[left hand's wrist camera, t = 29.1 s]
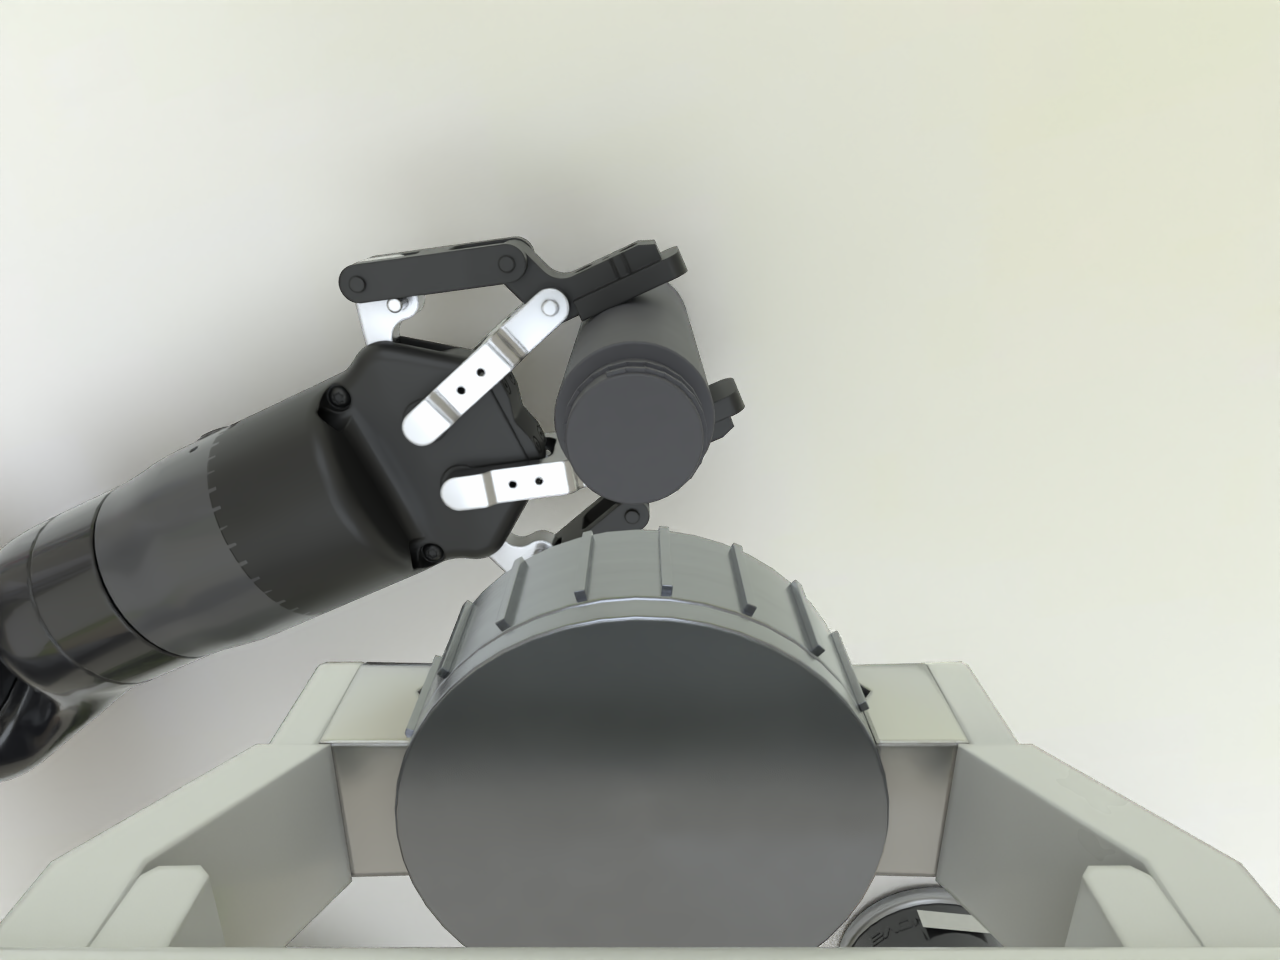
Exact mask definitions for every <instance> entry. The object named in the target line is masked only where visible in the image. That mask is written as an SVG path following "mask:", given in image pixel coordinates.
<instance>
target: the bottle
mask: <svg viewBox="0 0 1280 960" xmlns="http://www.w3.org/2000/svg"><path fill="white" fill-rule="evenodd" d="M554 421H555V430H556V434H557V439H558V441H559V444H560V447H561V449H562V451H563V453H564V455H565V456H566V458H567V459H568V461H569V462H570V464H571V466H572V468H573V470H574V472H575V473H576V474H577V476H578V477H579V479H580V480H581V481H582V482H583V483H584V484H585V485H586V486H587V487H588V488H590V489H591V490H592V491H593V492H595V493H597V494H598V495H600V496H602V497H604V498H606V499H608V500H611V501H615V502H618V503H624V504H645V503H651V502H654V501H658V500H661V499H663V498H665V497H667V496H669V495H671V494H672V493H674V492H676V491H677V490H679V489H680V488H681V487H682V486H683V485H684V484H685V483H686V482H687V481H688V480H689V479H691V478H692V476H693V475H694V473H695V472H696V470H697V469H698V467H699V465H700V464H701V462H702V459H703V457H704V455H705V453H706V452H707V450H708V447H709V445H710V442H711V440H712V436H713V432H714V424H715V410H714V404H713V399H712V396H711V393H710V389H709V386H708V382H707V379H706V376H705V372H704V369H703V366H702V362H701V359H700V355H699V352H698V349H697V345H696V342H695V339H694V335H693V332H692V328H691V325H690V322H689V318H688V315H687V312H686V308H685V305H684V303H683V301H682V299H681V297H680V296H679V294H678V293H677V291H676V290H675V289H674V288H673V287H672V286H671V285H670V284H669V283H665V284H663V285H660V286H658V287H656V288H654V289H652V290H650V291H647V292H645V293H643V294H641V295H639V296H637V297H635V298H632V299H630V300H628V301H626V302H624V303H622V304H619V305H617V306H615V307H613V308H610V309H608V310H606V311H604V312H602V313H600V314H598V315H596V316H593V317H591V318H589V319H587V320H585V321H583V322H582V323H581V326H580V329H579V332H578V335H577V338H576V341H575V344H574V347H573V350H572V353H571V357H570V360H569V363H568V366H567V369H566V372H565V375H564V378H563V381H562V384H561V387H560V390H559V393H558V396H557V400H556V405H555V416H554Z"/></svg>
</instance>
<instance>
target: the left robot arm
mask: <svg viewBox="0 0 1280 960" xmlns="http://www.w3.org/2000/svg"><path fill="white" fill-rule="evenodd" d="M431 665H432V663H386V662H367V663H364V662H326V663H323V664H321V665H319V666H318V667H317V669H316V670H315V672H314V673H313V675H312V676H311V678H310V680H309V681H308V683H307V684H306V686H305V688H304V689H303V691H302V692H301V694H300V696H299V697H298V699H297V700H296V702H295V704H294V705H293V707H292V708H291V710H290V712H289V713H288V715H287V716H286V718H285V720H284V721H283V723H282V724H281V726H280V727H279V729H278V731H277V732H276V734H275V735H274V737H273V739H272V740H271V742H270V743H269V744H256V745H254V746H252V747H251V748H249V749H247V750H245V751H244V752H242V753H240V754H238V755H237V756H235V757H233V758H231V759H230V760H228V761H226V762H224V763H223V764H221V765H219V766H217V767H216V768H214V769H212V770H210V771H209V772H207V773H205V774H203V775H202V776H200V777H198V778H196V779H195V780H193V781H191V782H190V783H188V784H186V785H184V786H183V787H181V788H179V789H177V790H176V791H174V792H172V793H170V794H169V795H167V796H165V797H163V798H162V799H160V800H158V801H156V802H155V803H153V804H151V805H149V806H148V807H146V808H144V809H142V810H141V811H139V812H137V813H135V814H134V815H132V816H130V817H128V818H127V819H125V820H123V821H121V822H120V823H118V824H116V825H114V826H113V827H111V828H109V829H108V830H106V831H104V832H102V833H101V834H99V835H97V836H95V837H94V838H92V839H90V840H88V841H87V842H85V843H83V844H81V845H80V846H78V847H76V848H74V849H73V850H71V851H69V852H67V853H66V854H64V855H62V856H60V857H59V858H57V859H55V860H53V861H52V862H50V864H49V865H48V866H47V867H46V869H45V870H44V871H43V872H42V873H41V875H40V876H39V877H38V878H37V879H36V881H35V882H34V883H33V884H32V885H31V887H30V888H29V889H28V890H27V891H26V893H25V894H24V895H23V896H22V897H21V899H20V900H19V901H18V902H17V903H16V905H15V906H14V907H13V908H12V910H11V911H10V912H9V913H8V914H7V916H6V917H5V918H4V919H3V920H2V922H1V923H0V960H1280V909H1279V908H1278V907H1277V905H1276V904H1275V903H1274V902H1273V901H1272V900H1271V898H1270V897H1269V896H1268V895H1267V894H1266V892H1265V891H1264V890H1263V889H1262V888H1261V886H1260V885H1259V884H1258V883H1257V882H1256V880H1255V879H1254V878H1253V877H1252V876H1251V874H1250V873H1249V872H1248V871H1247V870H1246V868H1245V867H1244V866H1243V865H1242V864H1241V863H1240V862H1238V861H1236V860H1235V859H1233V858H1231V857H1229V856H1228V855H1226V854H1224V853H1222V852H1221V851H1219V850H1217V849H1215V848H1213V847H1212V846H1210V845H1208V844H1206V843H1205V842H1203V841H1201V840H1199V839H1198V838H1196V837H1194V836H1192V835H1191V834H1189V833H1187V832H1185V831H1184V830H1182V829H1180V828H1178V827H1177V826H1175V825H1173V824H1171V823H1170V822H1168V821H1166V820H1164V819H1163V818H1161V817H1159V816H1157V815H1156V814H1154V813H1152V812H1150V811H1149V810H1147V809H1145V808H1143V807H1142V806H1140V805H1138V804H1136V803H1135V802H1133V801H1131V800H1129V799H1128V798H1126V797H1124V796H1122V795H1120V794H1119V793H1117V792H1115V791H1113V790H1112V789H1110V788H1108V787H1106V786H1105V785H1103V784H1101V783H1099V782H1098V781H1096V780H1094V779H1092V778H1091V777H1089V776H1087V775H1085V774H1084V773H1082V772H1080V771H1078V770H1077V769H1075V768H1073V767H1071V766H1070V765H1068V764H1066V763H1064V762H1063V761H1061V760H1059V759H1057V758H1056V757H1054V756H1052V755H1050V754H1049V753H1047V752H1045V751H1043V750H1042V749H1040V748H1038V747H1036V746H1034V745H1033V744H1019V743H1018V741H1017V740H1016V738H1015V737H1014V735H1013V734H1012V732H1011V730H1010V729H1009V727H1008V726H1007V724H1006V723H1005V721H1004V720H1003V718H1002V717H1001V715H1000V714H999V712H998V710H997V709H996V707H995V706H994V704H993V703H992V701H991V700H990V698H989V697H988V695H987V694H986V692H985V690H984V689H983V687H982V686H981V684H980V683H979V681H978V680H977V678H976V677H975V675H974V674H973V672H972V670H971V669H970V667H969V666H968V665H967V664H965V663H963V662H962V661H956V662H928V663H909V664H863V665H852V666H853V669H854V671H855V674H856V676H857V679H858V681H859V684H860V686H861V689H862V691H863V694H864V696H865V698H866V701H867V703H868V706H869V709H868V710H865V711H863V713H864V716H865V718H866V721H867V723H868V726H869V729H870V731H871V734H872V736H873V739H874V741H875V744H876V746H877V749H878V752H879V755H880V758H881V761H882V764H883V768H884V771H885V774H886V781H887V787H888V794H889V826H888V831H887V837H886V842H885V847H884V852H883V855H882V858H881V860H880V863H879V866H878V869H877V872H876V874H875V875H887V876H923V877H936V881H937V882H938V883H939V884H940V885H941V886H942V887H943V888H944V889H945V890H946V891H947V892H948V893H949V894H950V895H951V896H952V897H953V898H954V899H955V900H956V901H957V902H958V903H959V904H960V905H961V906H963V907H964V908H965V909H966V910H967V911H968V912H969V913H970V914H971V915H972V916H973V917H974V918H975V919H976V920H977V921H978V922H979V923H980V924H981V925H982V926H983V927H984V928H985V929H986V930H987V931H988V932H989V933H990V934H991V935H992V936H993V937H994V938H995V939H997V940H998V941H999V942H1000V943H1001V944H1002V945H1003V946H1004V947H285V946H286V945H287V944H288V943H289V942H290V941H291V940H292V939H293V938H294V937H295V936H296V935H297V934H298V933H299V932H301V931H302V930H303V929H304V928H305V927H306V926H307V925H308V924H309V923H310V922H311V921H312V920H313V919H314V918H315V917H316V916H317V915H318V914H319V913H320V912H321V911H322V910H323V909H324V908H325V907H326V906H327V905H328V904H329V903H330V902H331V901H332V900H333V899H334V898H335V897H336V896H337V895H338V894H339V893H340V892H341V891H342V890H344V889H345V888H346V887H347V886H348V885H349V884H350V883H351V882H352V877H365V876H399V875H409V874H408V871H407V869H406V867H405V864H404V862H403V859H402V855H401V851H400V847H399V843H398V839H397V834H396V822H395V810H394V807H395V796H396V785H397V779H398V776H399V772H400V768H401V764H402V760H403V757H404V754H405V752H406V749H407V746H408V744H409V741H410V739H411V737H412V734H405V730H406V727H407V725H408V722H409V720H410V717H411V715H412V712H413V710H414V707H415V705H416V702H417V700H418V697H419V695H420V692H421V690H422V687H423V685H424V682H425V680H426V677H427V675H428V672H429V670H430V668H431Z"/></svg>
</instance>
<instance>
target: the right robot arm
mask: <svg viewBox="0 0 1280 960" xmlns="http://www.w3.org/2000/svg"><path fill="white" fill-rule="evenodd" d="M686 272H687V268H686V266H685V263H684V261H683V259H682V256H681V254H680V252H679V249H678V247H677V246H676V247H672V248H670V249H667V250H665V251H663V252H661V253H660V251H659V249H658V247H657V245H656V242H655V240H640V241H636V242H634V243H632V244H630V245H628V246H626V247H624V248H622V249H619V250H617V251H615V252H613V253H611V254H609V255H607V256H605V257H602V258H600V259H598V260H596V261H594V262H592V263H590V264H588V265H586V266H583V267H581V268H579V269H577V270H575V271H572V272H568V273H563V272H558V271H555V270H553V269H552V268H550V267H549V266H548V265H547V264H546V263H545V262H544V261H543V260H542V259H541V258H540V257H539V256H538V255H537V254H536V253H535V252H534V249H533V247H532V245H531V244H530V243H529V241H527V240H526V239H524V238H522V237H508V238H500V239H493V240H486V241H479V242H471V243H464V244H457V245H450V246H443V247H435V248H428V249H421V250H414V251H406V252H399V253H392V254H385V255H377V256H372V257H370V258H367V259H364V260H362V261H359V262H357V263H354V264H353V265H350V266H348V267H346V268H345V269H344V270H343V271H342V272H341V274H340V276H339V287H340V290H341V292H342V294H343V295H344V296H345V297H346V298H347V299H348V300H350V301H352V302H354V303H356V307H357V311H358V315H359V319H360V323H361V327H362V331H363V335H364V339H365V343H366V347H364V348H363V349H362V350H361V351H360V352H359V353H358V354H357V356H356V357H355V359H354V361H353V362H352V364H351V365H350V367H349V368H348V369H347V370H346V371H344V372H342V373H340V374H338V375H336V376H334V377H332V378H330V379H328V380H325V381H323V382H321V383H319V384H317V385H315V386H313V387H311V388H309V389H307V390H304V391H302V392H300V393H298V394H296V395H294V396H292V397H290V398H288V399H285V400H283V401H281V402H279V403H277V404H275V405H273V406H271V407H269V408H266V409H264V410H262V411H260V412H258V413H256V414H254V415H252V416H249V417H247V418H245V419H243V420H241V421H239V422H237V423H235V424H233V425H231V426H229V427H222V428H219V429H216V430H213V431H211V432H208V433H206V434H204V435H203V436H201V438H200V439H198V441H197V442H195V443H193V444H191V445H188V446H186V447H184V448H182V449H180V450H178V451H176V452H174V453H172V454H170V455H168V456H166V457H165V458H163V459H161V460H160V461H158V462H157V463H155V464H153V465H152V466H151V467H149V468H148V469H146V470H145V471H143V472H142V473H141V474H139V475H138V476H136V477H135V478H133V479H131V480H130V481H128V482H126V483H124V484H122V485H121V486H118V487H116V488H114V489H112V490H110V491H108V492H106V493H103V494H101V495H99V496H97V497H95V498H93V499H91V500H89V501H87V502H84V503H82V504H80V505H78V506H76V507H74V508H72V509H70V510H67V511H65V512H63V513H62V514H59V515H57V516H55V517H53V518H51V519H49V520H47V521H45V522H43V523H41V524H39V525H37V526H35V527H33V528H31V529H29V530H27V531H25V532H24V533H22V534H21V535H19V536H18V537H16V538H14V539H13V540H11V541H10V542H9V543H7V544H6V545H5V546H4V547H3V548H2V549H0V783H1V782H4V781H8V780H11V779H13V778H16V777H18V776H21V775H23V774H25V773H27V772H28V771H30V770H32V769H34V768H35V767H36V766H38V765H39V764H41V763H42V762H43V761H44V760H46V759H47V758H48V757H49V756H50V755H52V754H53V753H54V752H55V751H56V750H57V749H59V748H60V747H61V746H62V745H63V744H65V743H66V742H67V741H68V740H69V739H70V738H72V737H73V736H74V735H75V734H76V733H78V732H79V731H80V730H81V729H82V728H84V727H85V726H86V725H87V724H89V723H90V722H91V721H93V720H94V719H95V718H96V717H98V716H99V715H100V714H101V713H102V712H103V711H105V710H106V709H107V708H108V707H109V706H110V705H111V704H112V703H114V702H115V701H116V700H117V699H118V698H120V697H121V696H122V695H123V694H124V693H126V692H127V691H128V690H129V689H131V688H132V687H134V686H136V685H139V684H142V683H144V682H147V681H150V680H152V679H154V678H157V677H159V676H161V675H164V674H166V673H168V672H171V671H173V670H175V669H178V668H180V667H182V666H185V665H187V664H189V663H192V662H194V661H196V660H199V659H201V658H203V657H206V656H208V655H210V654H213V653H216V652H218V651H221V650H224V649H228V648H232V647H236V646H240V645H244V644H247V643H251V642H254V641H258V640H261V639H264V638H266V637H269V636H272V635H274V634H277V633H279V632H281V631H284V630H286V629H288V628H291V627H293V626H296V625H298V624H300V623H303V622H305V621H307V620H310V619H312V618H314V617H317V616H319V615H321V614H324V613H326V612H328V611H331V610H333V609H335V608H338V607H340V606H342V605H345V604H347V603H349V602H352V601H354V600H357V599H359V598H361V597H364V596H366V595H368V594H371V593H373V592H375V591H378V590H380V589H382V588H385V587H387V586H389V585H392V584H394V583H396V582H399V581H401V580H403V579H406V578H408V577H410V576H413V575H415V574H418V573H420V572H422V571H424V570H426V569H428V568H431V567H433V566H435V565H437V564H439V563H441V562H443V561H445V560H449V559H454V558H469V559H481V558H486V557H490V558H491V559H492V560H493V561H494V562H495V563H496V564H497V565H498V566H499V567H500V568H501V569H502V570H503V571H504V572H507V571H509V570H510V569H512V566H513V563H514V560H516V559H518V558H519V557H521V556H522V557H523V559H524V560H526V559H527V558H529V557H532V556H534V555H536V554H538V553H540V552H542V551H544V550H546V549H548V548H550V547H553V546H556V545H559V544H562V543H565V542H568V541H571V540H574V539H577V538H580V537H582V534H583V532H587V531H592V533H593V535H595V534H600V533H605V532H612V531H624V530H641V529H643V528H644V527H645V526H646V525H647V523H648V521H649V503H645V504H624V503H618V502H615V501H611V500H608V499H606V498H604V497H602V496H601V497H600V498H599V499H597V500H596V501H595V502H594V503H593V504H591V505H590V506H589V507H588V508H587V509H585V510H584V511H583V512H582V513H581V514H579V515H578V516H577V517H576V518H574V519H573V520H572V521H571V522H570V523H568V524H567V525H566V526H565V527H564V528H562V529H561V530H560V531H559V532H558V533H556V534H555V535H554V534H553V533H551V532H549V531H546V530H539V531H536V532H534V533H532V534H531V535H528V536H517V535H514V534H513V533H511V530H512V529H513V527H514V525H515V523H516V522H517V520H518V518H519V516H520V515H521V513H522V511H523V509H524V507H525V506H526V504H527V502H528V500H529V499H536V498H544V497H552V496H560V495H567V494H571V493H574V492H576V491H578V490H579V489H581V488H583V487H587V486H586V485H585V484H584V483H583V482H582V481H581V480H580V479H579V477H578V476H577V474H576V473H575V472H574V470H573V468H572V466H571V464H570V462H569V461H568V459H567V458H566V456H565V455H564V453H563V451H562V449H561V447H560V444H559V441H558V439H557V434H556V432H551V433H543V431H542V429H541V427H540V425H539V423H538V422H537V420H536V419H535V418H534V417H533V416H532V415H531V414H530V413H529V412H528V411H527V409H526V408H525V407H524V406H523V404H522V401H521V397H520V393H519V388H518V384H517V381H516V379H515V377H514V376H513V374H512V372H511V370H513V369H514V368H515V367H516V366H517V365H518V364H519V363H520V362H521V361H522V359H523V358H524V357H525V356H526V355H527V354H528V353H529V352H530V351H532V350H533V349H534V348H535V347H536V346H537V345H538V344H539V343H540V342H541V341H543V340H544V339H545V338H546V337H547V336H548V335H549V334H550V333H551V332H553V331H554V330H555V329H556V328H557V327H558V326H559V325H560V324H561V323H563V322H565V321H567V320H569V319H572V318H574V317H576V316H578V315H579V316H580V318H581V320H582V322H583V321H585V320H587V319H589V318H591V317H593V316H596V315H598V314H600V313H602V312H604V311H606V310H608V309H610V308H613V307H615V306H617V305H619V304H622V303H624V302H626V301H628V300H630V299H632V298H635V297H637V296H639V295H641V294H643V293H645V292H647V291H650V290H652V289H654V288H656V287H658V286H660V285H663V284H665V283H667V282H669V281H671V280H673V279H676V278H678V277H679V276H681V275H683V274H684V273H686ZM501 284H504V285H505V286H506V287H507V288H509V289H510V290H511V291H512V292H513V293H514V294H515V295H516V296H517V297H518V298H519V299H520V300H521V301H522V302H523V303H522V304H521V305H520V306H519V307H518V308H517V309H515V310H514V311H513V312H512V313H511V314H510V315H509V316H507V317H506V318H505V319H504V320H503V321H502V322H501V323H500V324H498V325H497V326H496V327H495V328H494V329H493V330H492V331H491V332H490V333H489V334H488V335H487V336H486V337H484V338H483V339H482V340H481V341H480V342H479V343H478V344H477V345H476V346H475V347H474V348H473V349H466V348H461V347H456V346H450V345H445V344H440V343H435V342H430V341H425V340H420V339H414V338H409V337H404V336H400V335H399V328H400V324H401V322H402V321H403V320H406V319H409V318H411V317H412V316H414V315H415V314H416V313H418V312H419V311H420V310H421V309H422V308H423V306H424V303H425V295H427V294H435V293H442V292H449V291H457V290H464V289H471V288H479V287H486V286H494V285H501ZM709 389H710V393H711V396H712V399H713V404H714V410H715V424H714V432H713V436H712V440H711V442H713V441H715V440H717V439H720V438H722V437H724V436H725V435H726V434H727V433H728V432H729V431H730V430H731V429H732V428H733V427H734V425H733V422H732V419H731V416H733V415H735V414H737V413H739V412H740V411H742V410H743V409H744V407H745V405H744V403H743V401H742V398H741V396H740V393H739V391H738V389H737V386H736V384H735V382H734V379H733V378H726V379H723V380H720V381H718V382H715V383H713V384H711V385H709ZM547 450H550V451H547ZM540 478H541V479H540ZM840 947H1004V946H1003V945H1002V944H1001V943H1000V942H999V941H998V940H997V939H995V938H994V937H993V936H992V935H991V934H990V933H989V932H988V931H987V930H986V929H985V928H984V927H983V926H982V925H981V924H980V923H979V922H978V921H977V920H976V919H975V918H974V917H973V916H972V915H971V914H970V913H969V912H968V911H967V910H966V909H965V908H964V907H963V906H961V905H960V904H959V903H958V902H957V901H956V900H955V899H954V898H953V897H952V896H951V895H950V894H949V893H948V892H947V891H946V890H945V889H944V888H940V887H929V888H918V889H912V890H907V891H903V892H900V893H896V894H893V895H891V896H888V897H886V898H884V899H882V900H880V901H878V902H876V903H874V904H873V905H871V906H870V907H868V908H867V909H866V910H864V911H863V912H862V913H861V914H860V915H858V916H857V917H856V918H855V919H854V921H853V922H852V923H851V924H850V926H849V927H848V928H847V930H846V932H845V934H844V935H843V938H842V940H841V943H840Z"/></svg>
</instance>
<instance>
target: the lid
mask: <svg viewBox="0 0 1280 960" xmlns="http://www.w3.org/2000/svg"><path fill="white" fill-rule="evenodd" d="M868 709H869V706H868V703H867V701H866V698H865V696H864V694H863V691H862V689H861V686H860V684H859V681H858V679H857V676H856V674H855V671H854V669H853V666H852V664H851V662H850V659H849V657H848V654H847V652H846V649H845V647H844V644H843V642H842V639H841V637H840V635H839V633H838V631H835V632H833V633H830V631H829V629H828V627H827V625H826V623H825V622H824V620H823V619H822V618H821V616H820V615H819V614H818V612H817V611H816V609H815V608H814V607H813V605H812V604H811V603H810V602H809V601H808V600H807V598H806V596H805V593H804V591H803V588H802V585H801V584H800V583H799V582H798V581H797V580H794V581H793V582H792V583H790V582H789V581H788V580H787V579H785V578H784V577H783V576H781V575H780V574H779V573H778V572H776V571H775V570H774V569H773V568H771V567H769V566H767V565H766V564H764V563H762V562H761V561H759V560H757V559H756V558H754V557H752V556H750V555H749V554H746V553H744V552H743V549H742V546H740V545H738V544H736V543H733V545H732V546H731V547H730V546H728V545H725V544H723V543H720V542H716V541H713V540H709V539H706V538H702V537H699V536H695V535H690V534H684V533H677V532H671V531H669V527H664V526H659V530H624V531H612V532H605V533H600V534H595V535H593V533H592V531H587V532H583V534H582V537H580V538H577V539H574V540H571V541H568V542H565V543H562V544H559V545H556V546H553V547H550V548H548V549H546V550H544V551H542V552H540V553H538V554H536V555H534V556H532V557H529V558H527V559H526V560H524V559H523V557H522V556H521V557H519V558H518V559H516V560H514V563H513V566H512V569H510V570H509V571H507V572H506V573H504V574H503V575H502V576H500V577H499V578H498V579H497V580H496V581H495V582H494V583H492V584H491V585H490V586H489V587H488V588H487V589H485V590H484V591H483V592H482V593H481V595H480V596H479V597H478V598H477V599H476V600H475V601H474V603H471V602H470V601H468V600H467V601H466V602H465V603H464V605H463V606H462V609H461V611H460V614H459V617H458V619H457V622H456V624H455V627H454V629H453V632H452V635H451V637H450V640H449V642H448V644H447V647H446V649H445V651H444V653H443V656H442V657H440V656H437V655H436V656H435V658H434V660H433V663H432V665H431V668H430V670H429V672H428V675H427V677H426V680H425V682H424V685H423V687H422V690H421V692H420V695H419V697H418V700H417V702H416V705H415V707H414V710H413V712H412V715H411V717H410V720H409V722H408V725H407V727H406V730H405V734H412V737H411V739H410V741H409V744H408V746H407V749H406V752H405V754H404V757H403V760H402V764H401V768H400V772H399V776H398V779H397V785H396V796H395V807H394V810H395V822H396V834H397V839H398V843H399V847H400V851H401V855H402V859H403V862H404V864H405V867H406V869H407V871H408V874H409V876H410V878H411V881H412V883H413V885H414V887H415V888H416V890H417V892H418V893H419V895H420V897H421V898H422V900H423V901H424V903H425V905H426V906H427V907H428V909H429V910H430V911H431V912H432V914H433V915H434V916H435V917H436V918H437V920H438V921H439V922H440V923H441V925H442V926H443V927H444V928H445V929H446V930H447V931H449V932H450V933H451V934H452V935H453V936H454V937H455V938H456V939H457V940H458V941H459V942H460V943H461V944H462V945H464V946H465V947H818V946H820V945H821V944H822V943H823V942H825V941H826V940H827V939H828V938H829V937H830V936H831V935H832V934H833V933H834V932H835V931H836V930H837V929H838V928H839V927H840V926H841V925H842V924H843V923H844V922H845V921H846V920H847V919H848V917H849V916H850V915H851V913H852V912H853V911H854V909H855V908H856V907H857V905H858V904H859V903H860V901H861V900H862V899H863V897H864V895H865V893H866V891H867V890H868V888H869V886H870V884H871V882H872V880H873V879H874V877H875V874H876V872H877V869H878V866H879V863H880V860H881V858H882V855H883V852H884V847H885V842H886V837H887V831H888V826H889V794H888V787H887V781H886V774H885V771H884V768H883V764H882V761H881V758H880V755H879V752H878V749H877V746H876V744H875V741H874V739H873V736H872V734H871V731H870V729H869V726H868V723H867V721H866V718H865V716H864V713H863V711H865V710H868Z"/></svg>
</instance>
